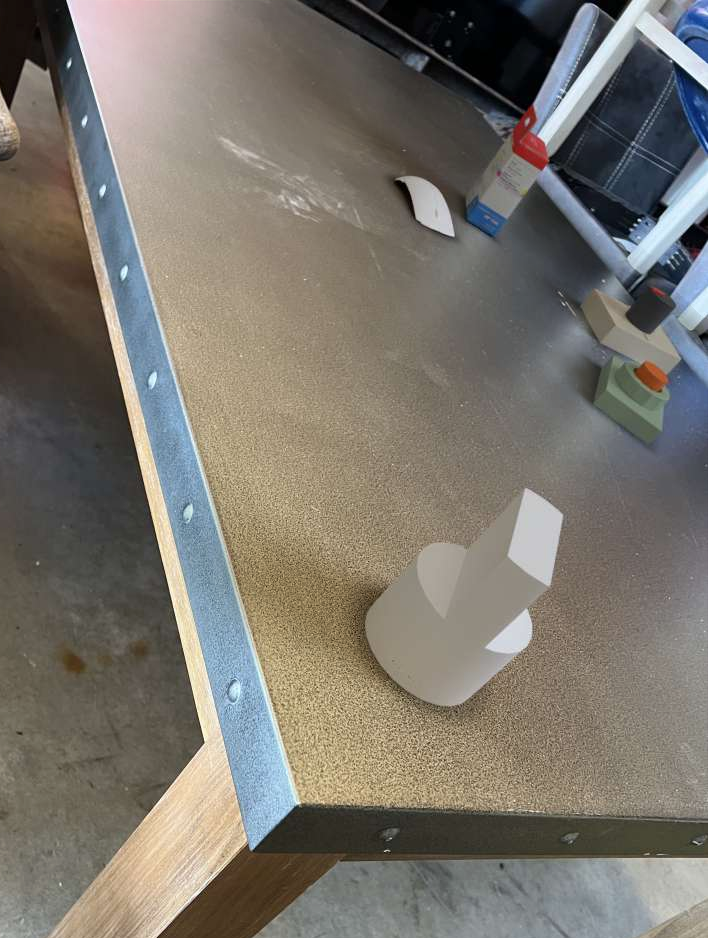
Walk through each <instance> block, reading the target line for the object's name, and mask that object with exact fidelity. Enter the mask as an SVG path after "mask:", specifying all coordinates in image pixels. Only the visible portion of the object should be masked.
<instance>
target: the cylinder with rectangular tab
mask: <svg viewBox="0 0 708 938" xmlns="http://www.w3.org/2000/svg"><path fill="white" fill-rule="evenodd" d="M563 519H564V514H563V513H562V512H561V511H560V510H559V509H557V508H556V507H555V506H554V505H553V504H551V503H550V502H549V501H547V499H545V498H543V497H542V496H541V495H539V494H538V493H535V492H534V491H532V490H531V489H529V488H527V487H525V488H524V489H522V491H521V492H520V493H519V494H518V495H517V496H516V497H515V498H514V499H513V500H512V501H511V502H510V503H509V504H508V505H507V506H506V507H505V509H504V510H503V511H502V512H501V513H500V514H499V515H498V516H497V517H496V518H495V519H494V521H492V522H491V523H490V525H488V526H487V527H486V529H485V530H484V531H483V532H482V533H481V534H480V535H479V536H478V537H477V539H476V540H474V542H472V544H471V545H470V546H469V547H468V548H465V547H463V546H462V545H459V544H455V543H450V542H446V541H442V542H432V543H430V544H428V545H426V546H424V547H423V548H422V549H421V550H420V551H419V553H417V554H416V556H415V557H414V558H413V559H412V560H411V561H410V563H408V565H406V567H404V569H403V570H402V572H400V574H399V575H397V577H396V578H395V579H394V580H393V581H392V582H391V584H390V585H389V586H388V587H387V588H386V589H385V590H384V591H383V592H382V593H381V595H380V596H379V597H378V598H377V599H376V600H375V602H374V603H373V604H372V605H371V606H370V608H369V609H368V611H367V612H366V615H365V620H364V629H365V637H366V640H367V642H368V645H369V648H370V650H371V652H372V654H373V656H374V658H375V659H376V660H377V662H378V664H379V665H380V667H381V668H382V669H383V670H384V671H385V673H386V674H387V675H388V676H389V677H390V678H391V680H393V681H394V682H395V683H396V684H397V685H399V686H400V687H401V688H402V689H403V690H405V691H406V692H407V693H409V694H410V695H412V696H414V697H416V698H418V699H419V700H421V701H422V702H423V701H424V702H426V703H429V704H432V705H435V706H440V707H454V706H457V705H458V706H459V705H462V704H463V703H465V702H466V701H468V700H469V699H470V698H471V697H472V696H474V694H475V693H477V692H478V691H479V690H480V689H481V688H482V687H484V686H485V685H486V684H487V683H488V682H489V681H490V680H491V679H492V678H493V677H494V676H496V675H497V674H498V673H499V672H500V671H502V669H503V668H505V667H506V666H507V665H508V664H509V663H510V662H511V661H513V660H514V659H515V658H516V657H517V656H518V655H519V654H520V653H522V652H523V651H524V650H525V649H526V648H527V647H528V646H529V644H530V642H531V640H532V637H533V623H532V619H531V616H530V612H529V610H528V609H529V607H530V606H531V605H532V604H534V602H535V601H536V600H538V598H539V597H541V596H542V594H544V593H545V592H546V591H547V590H548V589H550V587H551V585H552V579H553V573H554V567H555V562H556V558H557V552H558V548H559V541H560V537H561V536H560V535H561V530H562V525H563ZM387 654H388V655H387ZM389 657H390V658H391V659H393V661H394V662H393V661H392V660H391V659H390V658H389ZM396 664H397V666H398V667H399V668H400V669H401V670H402V671H403V672H404V673H403V672H402V671H401V670H400V669H399V668H398V667H397V666H396ZM408 676H409V677H410V678H411V679H410V678H409V677H408ZM413 680H414V681H413ZM417 683H418V684H417ZM420 685H421V686H420ZM438 694H439V695H438Z"/></svg>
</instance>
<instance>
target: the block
mask: <svg viewBox="0 0 708 938" xmlns="http://www.w3.org/2000/svg"><path fill="white" fill-rule="evenodd" d="M640 366H641V364H640V363H638V362H637V361H635V360H626V361H625V362H624V361H623V360H622V359H620V358H618V357H617V356H616V355H615V354H613V355H612V356H611V357H610V358H608V360H607V361H606V362H605V363H604V364H603V366H602V367H601V368H600V372H599V376H598V380H597V385H596V389H595V392H594V393H595V394H594V398H593V401H592V404H593V405H594V406H595V407H597V408H598V409H599V410H601V411H602V412H603V413H605V414H606V415H607V416H609V417H610V418H611V419H612V420H614V421H615V422H616V423H618V424H619V425H621V427H623V428H625V429H626V430H627V431H629V432H630V433H631V434H633V435H634V436H635V437H637V438H638V439H639V440H641V442H643V443H645V444H646V445H647V446H649V445H650V444H651V443H652V442H653V441H654V440H655V439H657V437H658V436H659V435H660V434H661V433H663V424H664V413H665V412H664V411H665V405H666V404H667V403H668V402H669V401H670V398H671V393H670V391H669V390H668V388H667V387H666V384H665V385H664V387H663V388H662V389H661V390H660V391H659V392H658V393H657V392H655V391H653V390H651V389H650V388H649V387H647V386H646V385H645V384H643V383H642V382H641V381H640V380H639V379H638V378H637V376H636V374H635V373H634V372H635V371H636V370H637V369H638V368H639V367H640Z"/></svg>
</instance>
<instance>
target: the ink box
mask: <svg viewBox="0 0 708 938" xmlns="http://www.w3.org/2000/svg"><path fill="white" fill-rule="evenodd" d="M528 119H529V122H528V123H527V121H528ZM537 122H538V118H537V113H536V109H535V105H534V104H531V105H530V106H529V107H528V108H527V110H526V111H525V113H524V114H523V115H522V117H521V118H520V120H519V121H518V122H517V123H516V125H515V126H514V128H513V129H512V130H511V132H510V134H509V135H508V137H507V138H506V139H505V141H504V143H503V144H502V145H501V147H500V148H499V149H498V151H497V152H496V154H495V155H494V156H493V158H492V159H491V160H490V163H489V164H488V166H487V167H486V169H485V170H484V171H483V173H482V174H481V176H480V177H479V179H478V180H477V181H476V183H475V185H474V186H473V188H472V189H471V190H470V191H469V193H468V194H467V196H466V197H465V215H466V218H465V219H466V221H467V222H469V223H470V224H472V225H473V226H475V227H477V228H478V229H480V230H482V231H483V232H484V233H486V234H488V235H489V236H491V237H493V238H495V237H496V236H497V235H498V233H499V232H500V230H501V229H502V227H503V226H504V224H505V223H506V222H507V221H508V219H509V218H510V217H511V215H512V214H513V212H514V210H516V208H517V206H518V205H519V204H520V202H521V200H523V198H524V197H525V195H526V194H527V193H528V191H529V190H530V189H531V187H532V186H533V184H534V183H535V182H536V180H537V179H538V177H539V176H540V175H541V173H542V172H543V171H544V169H545V168H546V166H547V165H548V164H549V163H550V158H549V155H548V151H547V147H546V143H545V141H544V140H543V139H542V138H540V137H539V136H537V135H536V134H535V133H533V132H532V130H533V128H534V127H535V126H536V124H537Z"/></svg>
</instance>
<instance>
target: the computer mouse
mask: <svg viewBox="0 0 708 938" xmlns="http://www.w3.org/2000/svg"><path fill="white" fill-rule="evenodd" d="M394 181H401V183H405V185H406V187H407V189H408V191H409V193H410V196H411V197H410V198H411V200H412V205H413V211H414V215H415V220H416V221H417V222H420V224H421V225H423V226H425V227H427V228H429V229H430V230H434V231H436V232H439V233H441V234H444V235H446V236H449V237H452V238H456V237H455V236H456V235H455V230H454V224H453V221H452V216H451V212H450V209H449V207H448V204H447V202H446V200H445V198H444V196H443V194H442V193H441V191H440V190H439V189H438V187H437V186H435V184H433V183H431V182H430V181H428V180H426V179H425V178H422V177H419V176H414V175H405V176H400V177H397V178H395V180H394Z"/></svg>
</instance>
